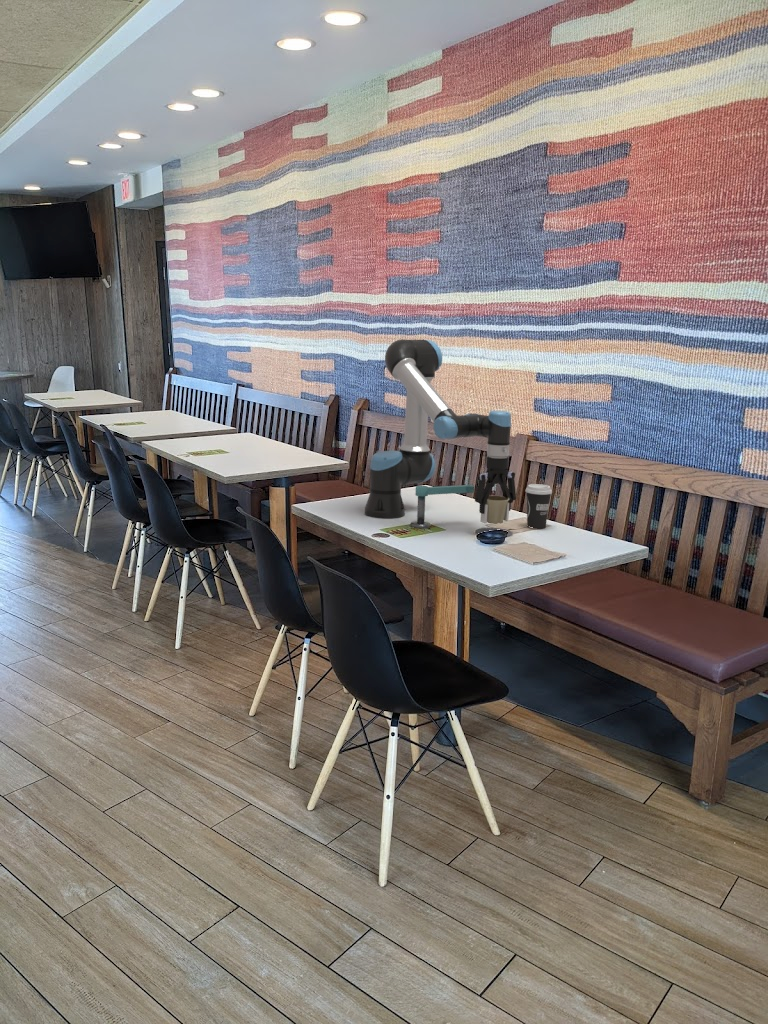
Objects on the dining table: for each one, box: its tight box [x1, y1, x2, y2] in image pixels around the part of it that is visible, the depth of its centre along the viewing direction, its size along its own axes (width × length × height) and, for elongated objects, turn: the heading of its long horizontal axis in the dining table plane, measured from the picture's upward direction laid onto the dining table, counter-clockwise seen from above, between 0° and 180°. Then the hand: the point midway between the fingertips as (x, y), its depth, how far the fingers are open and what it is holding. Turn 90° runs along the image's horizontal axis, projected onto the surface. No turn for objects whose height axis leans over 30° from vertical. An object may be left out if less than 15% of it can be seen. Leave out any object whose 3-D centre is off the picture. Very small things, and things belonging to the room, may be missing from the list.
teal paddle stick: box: [414, 484, 475, 497], centre depth 296 cm, size 22×4×3 cm, turn 112°
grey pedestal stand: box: [410, 496, 431, 530], centre depth 294 cm, size 7×7×11 cm
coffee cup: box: [525, 483, 553, 530], centre depth 297 cm, size 10×10×15 cm
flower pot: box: [486, 494, 509, 525], centre depth 286 cm, size 9×9×9 cm
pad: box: [474, 527, 513, 538], centre depth 288 cm, size 13×13×1 cm
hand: (494, 521), depth 287 cm, fingers closed on flower pot, 8 cm apart
